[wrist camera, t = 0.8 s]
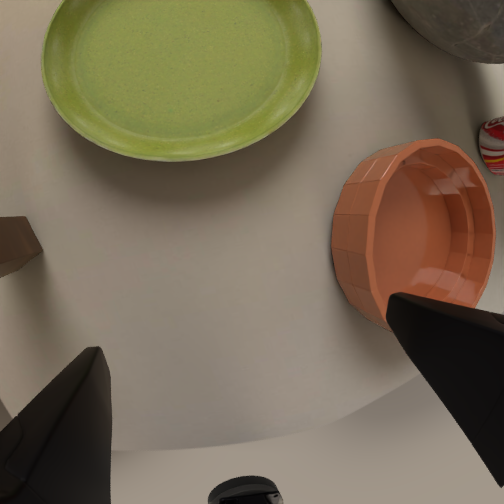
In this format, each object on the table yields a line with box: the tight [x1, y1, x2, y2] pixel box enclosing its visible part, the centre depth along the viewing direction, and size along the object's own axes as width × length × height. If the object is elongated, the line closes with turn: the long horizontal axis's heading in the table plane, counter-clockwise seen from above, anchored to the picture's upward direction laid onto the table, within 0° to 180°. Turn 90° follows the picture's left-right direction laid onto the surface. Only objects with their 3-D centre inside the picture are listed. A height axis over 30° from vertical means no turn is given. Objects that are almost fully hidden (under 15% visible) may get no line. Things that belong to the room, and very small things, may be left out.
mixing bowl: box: [331, 138, 496, 332], centre depth 24 cm, size 16×16×6 cm
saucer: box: [41, 0, 322, 162], centre depth 19 cm, size 21×21×3 cm
